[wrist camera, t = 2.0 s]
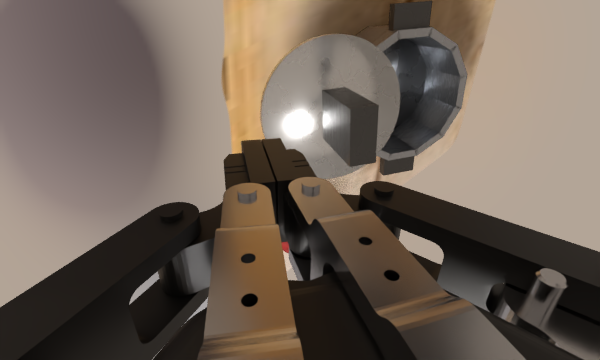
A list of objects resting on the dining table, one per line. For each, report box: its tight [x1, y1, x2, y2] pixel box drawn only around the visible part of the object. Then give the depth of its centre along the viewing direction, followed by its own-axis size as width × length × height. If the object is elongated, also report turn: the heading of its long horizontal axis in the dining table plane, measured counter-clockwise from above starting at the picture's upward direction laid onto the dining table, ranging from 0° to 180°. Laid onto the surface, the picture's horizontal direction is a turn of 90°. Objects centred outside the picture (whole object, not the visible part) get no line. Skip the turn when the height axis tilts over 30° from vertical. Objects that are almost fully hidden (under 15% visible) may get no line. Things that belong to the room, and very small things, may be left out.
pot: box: [356, 1, 467, 175], centre depth 39 cm, size 19×14×7 cm
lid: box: [260, 34, 400, 179], centre depth 30 cm, size 15×15×8 cm
